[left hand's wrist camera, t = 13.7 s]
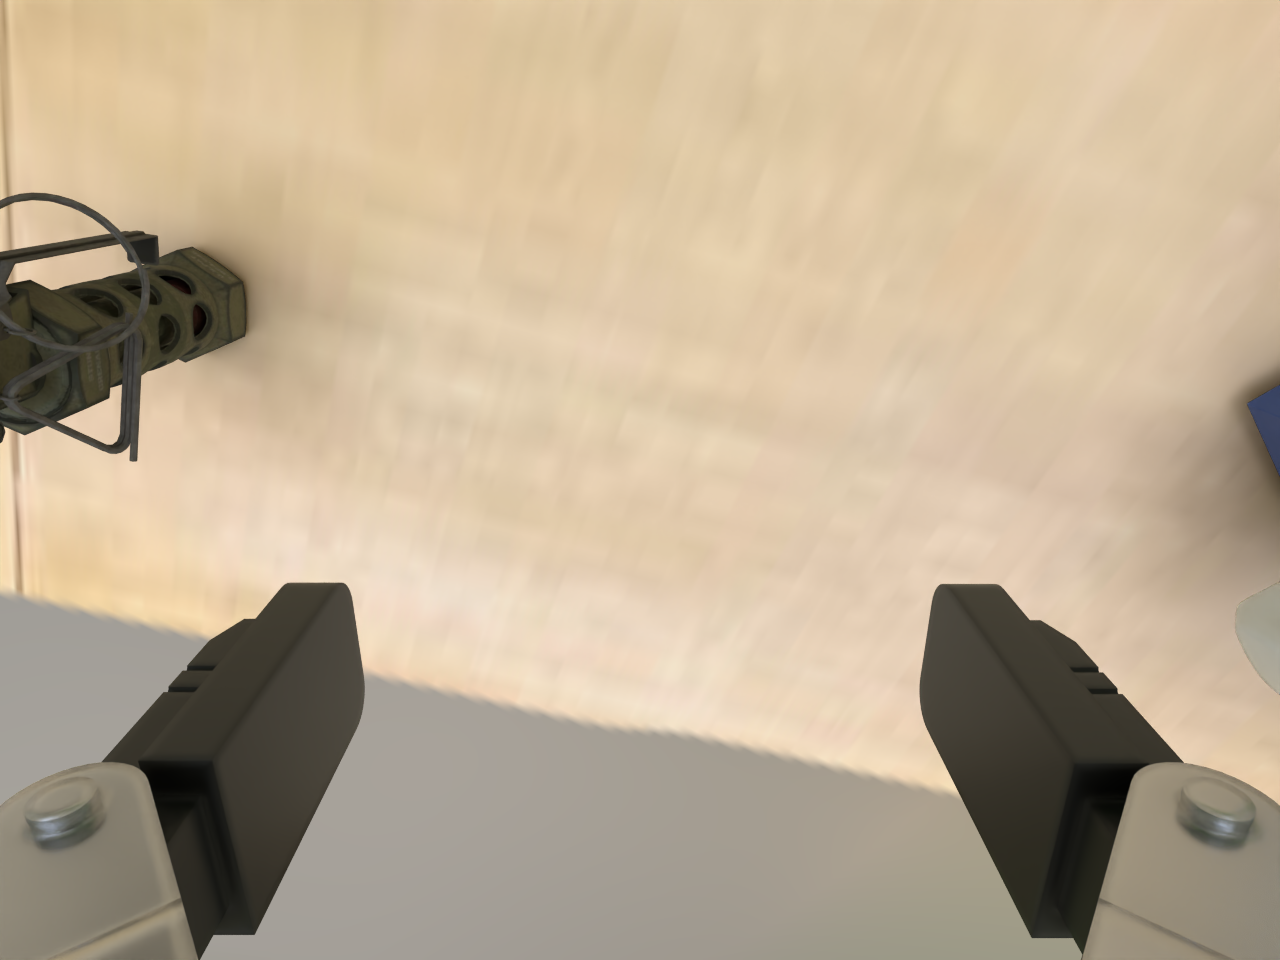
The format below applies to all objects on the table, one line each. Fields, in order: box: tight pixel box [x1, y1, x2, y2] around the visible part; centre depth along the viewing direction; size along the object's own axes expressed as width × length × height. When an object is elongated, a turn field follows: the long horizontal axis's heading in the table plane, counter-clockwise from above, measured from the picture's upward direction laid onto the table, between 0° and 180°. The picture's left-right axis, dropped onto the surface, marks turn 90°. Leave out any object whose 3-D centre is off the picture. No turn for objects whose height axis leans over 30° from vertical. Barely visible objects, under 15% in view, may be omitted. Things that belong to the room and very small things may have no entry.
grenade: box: [0, 193, 246, 462], centre depth 31 cm, size 9×6×15 cm, turn 172°
